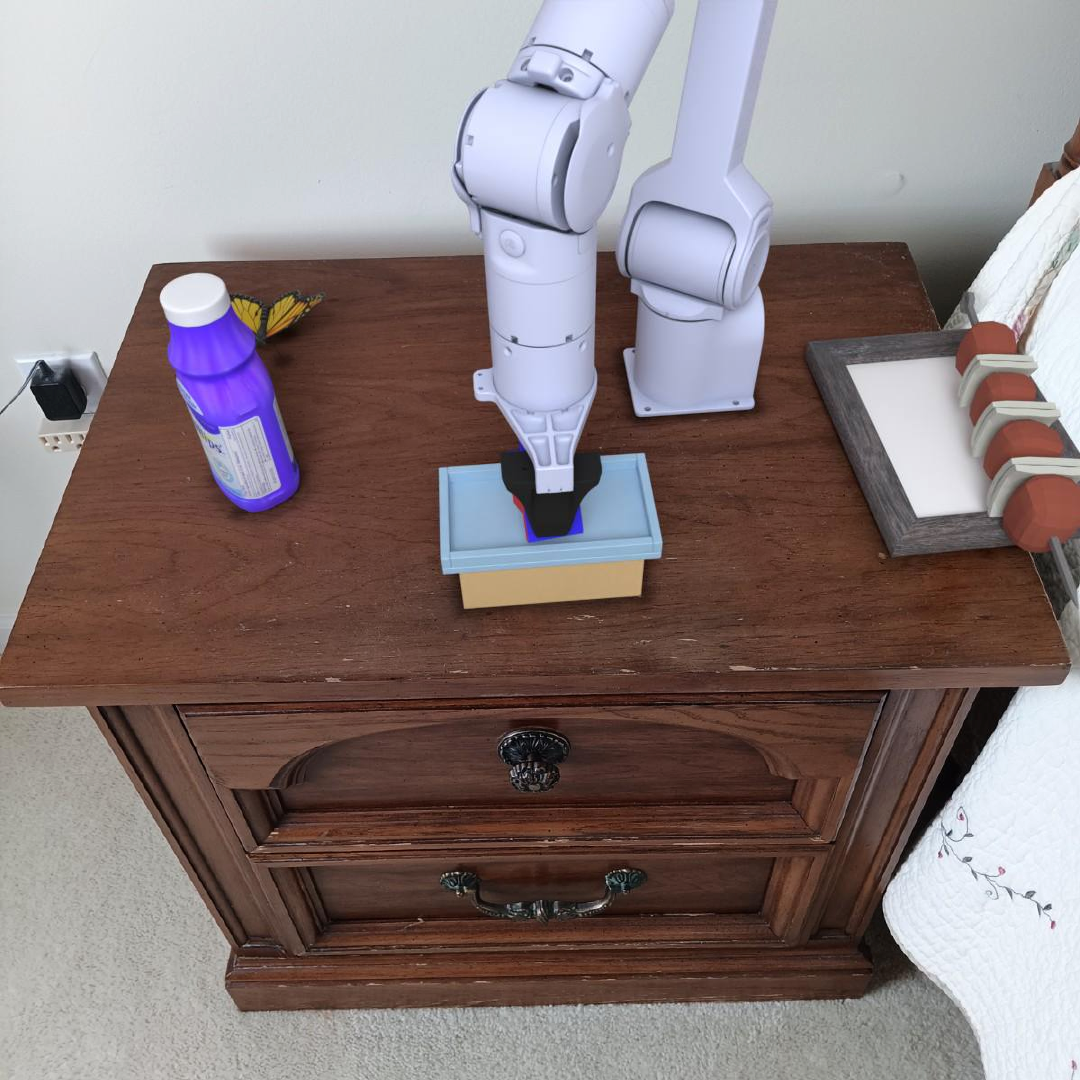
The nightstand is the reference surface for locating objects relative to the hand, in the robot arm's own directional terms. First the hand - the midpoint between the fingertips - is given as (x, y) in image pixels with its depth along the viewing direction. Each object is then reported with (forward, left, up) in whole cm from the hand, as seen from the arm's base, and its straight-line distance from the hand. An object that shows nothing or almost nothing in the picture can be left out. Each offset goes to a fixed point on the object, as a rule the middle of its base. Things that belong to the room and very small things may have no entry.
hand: (546, 486), depth 64 cm
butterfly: (+22, -25, -8) cm, 35 cm away
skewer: (-35, -20, -2) cm, 40 cm away
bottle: (+21, -9, -8) cm, 24 cm away
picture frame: (-31, -19, -6) cm, 37 cm away
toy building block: (0, 0, -2) cm, 2 cm away
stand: (0, 0, -8) cm, 8 cm away
